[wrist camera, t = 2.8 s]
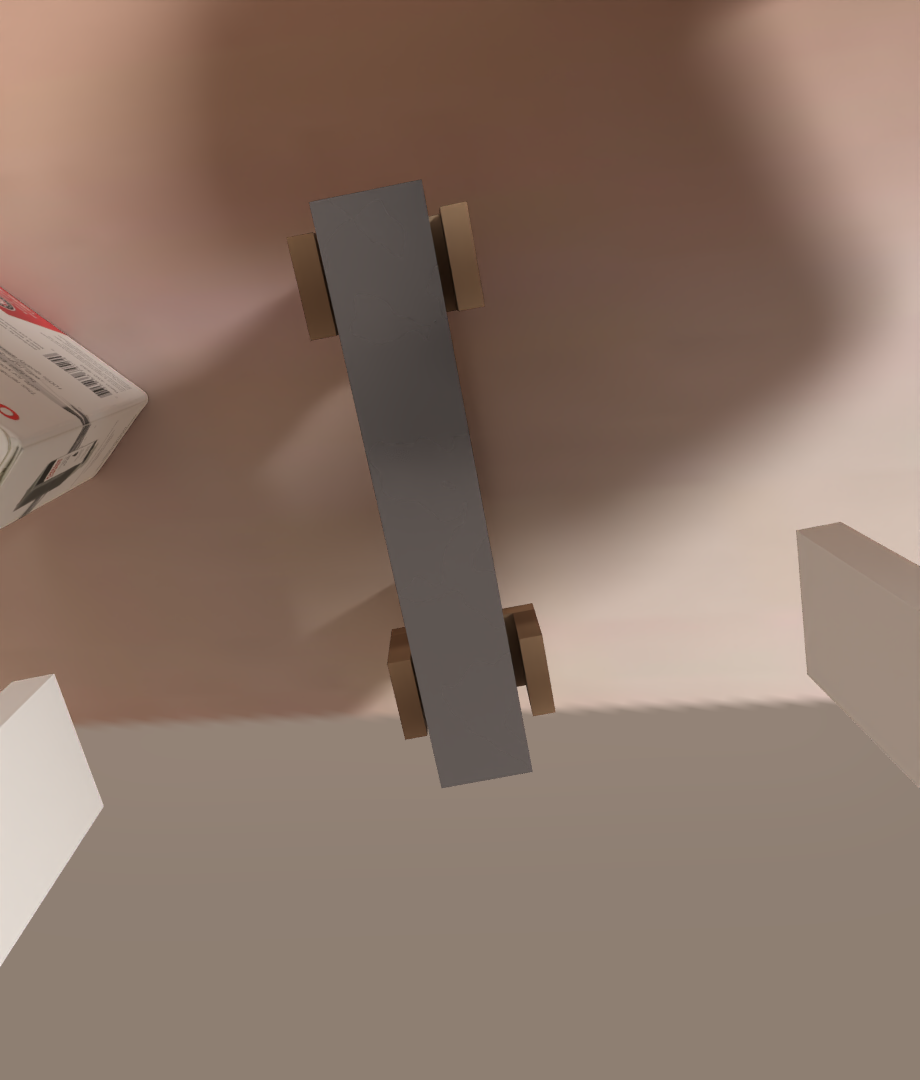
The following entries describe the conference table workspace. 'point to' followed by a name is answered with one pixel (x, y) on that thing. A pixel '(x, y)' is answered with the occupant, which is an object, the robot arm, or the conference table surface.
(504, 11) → the conference table surface
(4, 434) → the ink box
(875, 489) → the conference table surface
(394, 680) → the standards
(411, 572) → the rail
